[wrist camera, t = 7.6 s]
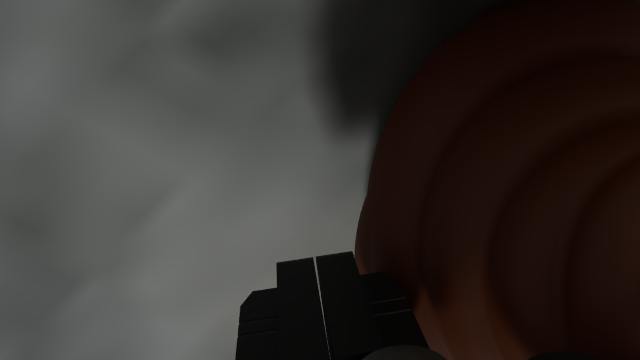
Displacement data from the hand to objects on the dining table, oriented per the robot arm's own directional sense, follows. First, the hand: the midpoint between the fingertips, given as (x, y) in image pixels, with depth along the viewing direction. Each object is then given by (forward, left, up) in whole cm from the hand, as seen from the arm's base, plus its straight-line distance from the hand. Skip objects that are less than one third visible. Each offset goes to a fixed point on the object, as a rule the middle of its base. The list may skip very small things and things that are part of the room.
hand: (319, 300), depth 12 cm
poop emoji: (0, +5, -3) cm, 6 cm away
